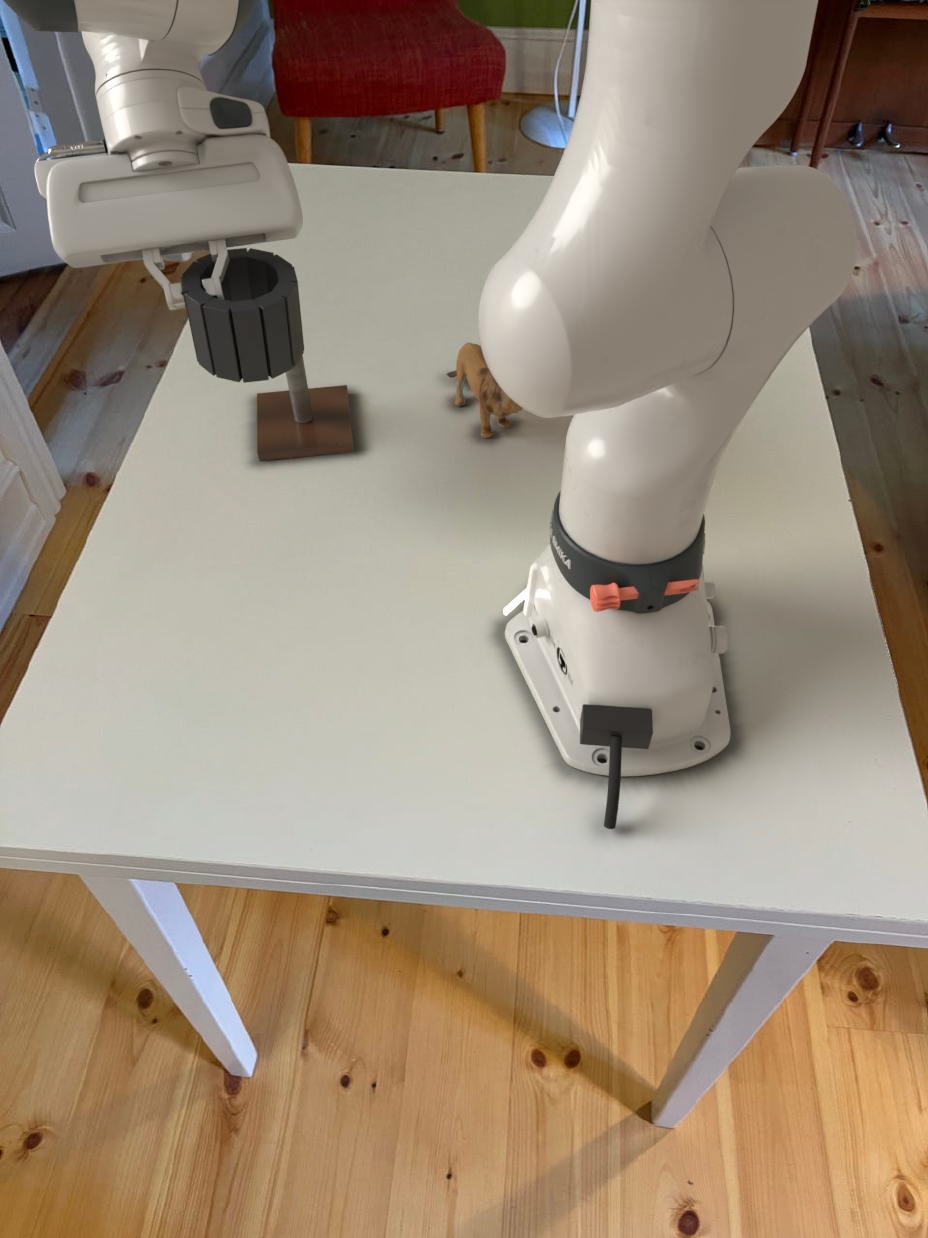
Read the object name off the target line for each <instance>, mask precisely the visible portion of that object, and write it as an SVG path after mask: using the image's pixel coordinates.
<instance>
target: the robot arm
mask: <svg viewBox="0 0 928 1238" xmlns="http://www.w3.org/2000/svg"><path fill="white" fill-rule="evenodd" d="M2 1H3V2H4V3H5V4H6V5H7V6H8V7H9V9H11V10H12V12H14V13H15V14H16V15H17V16H18V17H19V18H20V19H21V20H22V21H23V22H24V23H26V24H27V25H28V26H29V27H31V28H32V29H33V30H34V31H36V32H51V33H52V32H54V33H75V34H76V33H77V34H78V33H79V32H80V33H81V36H82V41H83V44H84V47H85V49H86V52H87V53H88V55H89V57H90V59H91V61H92V64H93V68H94V72H95V81H94V82H95V83H94V93H95V100H96V105H97V109H98V113H99V119H100V122H101V127H102V131H103V135H104V138H103V139H95V140H88V141H82V142H78V143H75V144H65V143H64V144H56V145H55V144H54V145H51V146H49V147H48V148H47V149H48V151H46V152H44V153H42V154H41V155H40V156H38V157H37V159H36V161H35V163H34V168H33V174H34V178H35V182H36V186H37V190H38V193H39V195H40V197H41V198H42V200H43V201H45V202H46V210H47V220H48V227H49V234H50V239H51V245H52V247H53V250H54V252H55V253H56V255H57V256H58V258H59V259H61V260H62V261H63V262H64V263H66V264H67V265H68V266H70V267H71V268H73V269H80V268H81V269H82V268H88V267H94V266H102V265H110V264H116V263H124V262H131V261H133V262H134V261H139V260H143V265H144V267H145V269H146V270H147V272H148V273H149V274H150V275H151V277H152V278H153V279H154V280H155V282H156V283H158V284H159V286H160V287H161V288H162V289H163V292H164V296H165V301H166V304H167V308H168V309H169V310H170V311H176V310H182V309H183V310H184V309H186V304H185V299H184V295H183V289H182V281H180V282H171V281H170V280H169V278H167V276H165V274H164V273H163V272H162V271H161V270H165V268H166V267H165V262H164V259H163V257H169V256H175V255H182V254H191V253H197V252H198V253H199V252H205V251H209V253H210V254H211V256H212V259H213V261H214V262H216V264H215V267H214V270H213V274H212V277H211V278H207V279H202V283H203V288H204V290H205V291H206V292H207V293H208V294H210V295H211V296H212V297H214V298H218V299H223V300H224V295H223V290H222V285H221V282H222V281H223V278H224V275H225V272H226V269H227V266H228V264H229V261H230V260H229V255H228V251H227V250H228V248H235V247H242V246H248V245H249V246H250V245H257V244H263V243H272V242H277V241H285V240H294V239H296V238H297V237H298V236H299V234H300V232H301V230H302V228H303V226H304V215H303V210H302V209H303V208H302V206H301V201H300V197H299V193H298V190H297V189H298V188H297V185H296V183H295V179H294V177H293V174H292V171H291V168H290V165H289V162H288V160H287V157H286V155H285V153H284V151H283V150H282V148H281V146H280V145H279V144H278V142H276V141H275V140H274V139H272V138H271V129H270V123H269V119H268V116H267V112H266V111H265V107H264V106H263V105H262V104H261V103H260V102H258V101H255V100H251V99H247V98H242V97H241V98H240V97H236V96H232V95H231V96H230V95H226V94H221V93H218V92H214V91H209V90H208V88H207V86H206V82H205V81H204V79H203V76H202V72H201V63H202V60H203V58H205V57H206V56H214V55H215V54H217V53H218V52H220V50H221V49H223V48H224V47H226V46H227V44H229V42H230V41H232V40H233V38H234V37H235V36H236V35H237V34H238V33H240V31H241V30H242V29H243V28H244V26H245V25H246V24H247V23H248V21H249V20H250V18H251V16H252V14H253V12H254V8H255V3H256V0H2ZM818 5H819V0H590V11H589V23H588V25H589V26H588V38H587V48H586V49H587V50H586V59H585V69H584V75H583V80H582V87H581V92H580V97H579V101H578V105H577V109H576V113H575V117H574V119H573V124H572V126H571V129H570V132H569V135H568V138H567V142H566V144H565V147H564V150H563V153H562V155H561V158H560V161H559V163H558V164H557V165H558V166H557V167H556V170H555V172H554V175H553V177H552V179H551V182H550V183H549V185H548V187H547V190H546V192H545V194H544V196H543V198H542V200H541V202H540V203H539V205H538V207H537V209H536V211H535V213H534V214H533V216H532V217H531V219H530V221H528V224H527V225H526V227H525V228H524V230H523V231H522V232H521V234H520V235H519V237H518V238H517V239H516V240H515V242H514V243H513V244H512V245H511V247H510V248H509V249H508V250H507V251H506V252H505V253H504V254H503V256H501V258H500V259H499V260H498V261H497V262H496V263H494V265H493V266H492V268H491V269H490V271H489V273H488V275H487V277H486V280H485V283H484V285H483V288H482V292H481V297H480V300H479V306H478V315H477V317H478V318H477V323H478V324H477V328H478V337H479V344H480V346H481V349H482V352H483V356H484V359H485V361H486V364H487V366H488V368H489V370H490V372H491V374H492V376H493V377H494V379H495V380H496V382H497V383H498V385H499V386H500V388H501V389H502V390H503V391H504V392H505V393H506V394H507V395H508V396H509V397H510V398H511V399H512V400H513V401H514V402H515V403H517V404H518V405H519V406H521V407H522V408H523V409H522V410H525V411H526V412H528V413H530V414H532V415H533V416H536V417H539V418H542V419H553V418H561V417H567V416H568V417H569V416H572V419H571V420H570V423H569V426H568V428H567V431H566V437H565V444H564V454H563V464H562V473H561V482H560V483H561V484H560V490H559V492H558V493H557V494H556V498H555V500H554V505H553V508H552V510H551V515H550V520H549V521H550V522H549V543H548V545H547V546H546V547H545V548H544V550H543V551H542V552H541V554H540V555H539V556H538V557H537V558H536V559H535V560H534V562H533V564H532V565H530V567H529V572H528V573H529V574H528V578H527V584H526V588H525V589H524V590H523V591H521V593H519V594H518V595H517V596H516V597H515V598H514V599H513V600H512V601H510V603H508V605H506V606H505V607H504V608H503V615H504V616H508V614H510V613H511V612H512V611H513V610H514V609H515V608H516V607H517V606H518V605H519V604H520V603H522V602H523V601H524V603H523V610H521V611H520V612H518V613H517V614H516V615H515V616H514V617H512V618H511V619H510V620H509V621H508V622H507V623H506V626H505V631H504V638H505V641H506V643H507V645H508V647H509V649H510V651H511V654H512V656H513V658H514V659H515V662H516V664H517V666H518V668H519V670H520V673H521V674H522V676H523V678H524V680H525V682H526V685H527V686H528V689H529V691H530V693H531V695H532V698H533V699H534V701H535V703H536V705H537V707H538V710H539V712H540V713H541V716H542V718H543V720H544V722H545V725H546V727H547V728H548V730H549V732H550V735H551V736H552V739H553V741H554V743H555V746H556V747H557V749H558V751H559V753H560V755H561V757H562V759H563V760H564V762H565V763H566V764H567V765H568V766H569V767H572V768H574V769H577V770H579V771H583V772H585V773H589V774H594V775H600V776H607V777H608V780H607V795H606V805H605V814H604V821H603V827H605V829H607V830H614V829H616V827H617V819H618V812H619V803H620V793H621V780H622V779H621V778H622V777H642V776H651V775H660V774H665V773H671V772H675V771H680V770H684V769H688V768H692V767H694V766H697V765H699V764H701V763H704V762H706V761H708V760H711V759H712V758H713V757H715V756H717V755H718V754H720V753H721V752H722V751H723V750H724V749H725V748H727V746H728V745H729V744H730V740H731V725H730V718H729V710H728V705H727V698H726V692H725V684H724V678H723V672H722V664H721V658H720V655H724V654H726V652H727V650H728V646H729V633H728V629H727V627H726V626H724V625H715V620H714V619H715V618H714V613H713V607H712V605H711V603H710V602H709V601H708V600H710V599H714V598H715V594H716V586H715V583H714V582H713V581H711V582H710V581H706V580H705V571H704V565H703V564H704V563H703V562H704V555H705V549H706V533H705V532H706V530H705V529H706V516H705V511H706V508H707V504H708V502H709V498H710V495H711V491H712V488H713V485H714V482H715V479H716V476H717V473H718V469H719V465H720V463H721V461H722V459H723V456H724V453H725V452H726V449H727V447H728V445H729V443H730V441H731V439H732V438H733V436H734V434H735V433H736V431H737V429H738V428H739V426H740V424H741V423H742V421H743V419H744V418H745V417H746V415H747V413H748V411H749V410H750V409H751V407H752V406H753V404H754V403H755V401H756V399H757V397H758V396H759V395H760V393H761V391H762V390H763V389H764V387H765V385H766V384H767V382H768V381H769V379H771V376H772V375H773V373H774V372H775V371H776V369H777V368H778V366H779V365H780V363H782V360H783V359H784V357H785V356H786V355H787V353H788V352H789V351H790V349H792V347H793V346H794V344H795V343H796V342H797V341H798V340H799V338H801V336H802V335H803V334H804V333H805V332H806V331H807V330H808V328H810V326H811V325H812V324H813V323H815V321H816V320H818V318H820V316H821V315H822V314H823V313H824V312H826V311H827V310H828V309H829V308H830V307H831V306H832V305H833V304H834V303H836V301H837V300H839V298H840V297H841V296H842V294H843V293H844V291H845V290H846V288H847V286H848V284H849V283H850V280H851V278H852V276H853V274H854V273H853V272H854V270H855V265H856V259H857V251H858V237H857V235H858V234H857V227H856V222H855V217H854V215H853V212H852V211H853V210H852V207H850V204H849V202H848V199H847V198H846V196H845V194H844V193H843V191H842V190H841V188H840V187H839V186H838V184H837V183H836V182H835V181H834V180H833V179H832V178H831V177H829V175H827V174H826V173H824V172H822V171H821V170H819V169H818V168H815V167H811V166H808V165H803V164H782V165H781V164H780V165H779V164H775V165H773V164H772V165H756V166H744V167H740V165H741V164H742V162H743V161H744V160H745V158H746V156H747V155H748V153H749V152H750V150H751V149H752V148H753V146H754V145H755V143H756V142H757V141H758V140H759V139H760V138H761V137H762V136H763V134H764V133H765V132H766V131H767V130H768V129H769V128H770V127H771V126H772V125H773V124H774V123H775V122H776V121H777V120H778V118H779V117H780V116H781V115H782V114H783V112H784V111H785V110H786V108H787V106H788V105H789V103H790V102H791V100H792V99H793V97H794V96H795V94H796V92H797V90H798V88H799V86H800V84H801V81H802V79H803V76H804V73H805V70H806V68H807V61H808V57H809V51H810V46H811V40H812V35H813V30H814V25H815V20H816V15H817V10H818V9H817V8H818ZM49 158H50V159H49ZM522 641H523V642H522ZM524 641H525V642H524ZM697 747H700V748H702V749H697ZM599 759H603V760H604V761H606V762H600V761H599Z"/></svg>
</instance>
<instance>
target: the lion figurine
mask: <svg viewBox="0 0 928 1238" xmlns="http://www.w3.org/2000/svg"><path fill="white" fill-rule="evenodd" d="M455 367H456V369H455V370H453V371H449V372H447V373H446V376H447V377H448V378H450V379H453V378H456V379H457V383H456V394H455V399H454V405H455V406H456V407H462V406H465V404H466V400H465V396H464V386H465V385H464V383H465V381H466V379H467V383H468V385H469V387H470V390H471V392H472V394H473V395H474V396H475V397H476V399H478V406H479V415H480V426H481V430H480V436H481V437H482V438H483V439H489V438H491V437H492V436H493V432H492V430H493V429H492V425H491V421H490V420H491V415H493V416H495V417H496V418H497V419H496V421H497V422H496V423H497V424H498V425H499V426H500V427H501V428H502V429H507V428H510V426H511V424H512V423H511V422H512V421H511V420H510V419H507V417H508V416H511V415H512V414H518V413H520V412H522V411H523V410H524V409H523V408H522V407H521V406H519V405H518V404H517V403H515V402H514V401H513V400H512V399H511V398H510V397H509V396H508V395H507V394H506V393H505V392H504V391H503V390H502V389H501V388H500V386H499V385H498V383H497V382H496V380H495V379H494V377H493V376H492V374H491V372H490V370H489V368H488V366H487V364H486V361H485V359H484V356H483V352H482V349H481V345H479V344H478V343H472V342H469V341H468V342H466V343H465V344H464V345H463V346H462V347H461V348H460V349H459V351H458V354H457V358H456V366H455Z"/></svg>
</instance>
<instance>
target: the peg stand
mask: <svg viewBox="0 0 928 1238" xmlns="http://www.w3.org/2000/svg"><path fill="white" fill-rule="evenodd" d="M285 376H286V382H287V386H288V387H287V388H288V390H279V391H268V392H257V393H256V454H257V457H258V461H259V462H264V461H272V460H274V461H275V460H283V459H294V458H304V457H305V458H306V457H313V456H324V455H334V454H343V453H344V454H345V453H354V452H355V448H354V437H353V429H352V428H353V427H352V418H351V409H350V400H349V399H350V398H349V390H348V385H347V384H343V385H341V384H340V385H333V386H331V385H330V386H322V387H321V386H320V387H311V388H309V385H308V379H307V373H306V367H305V362H304V354H303V355H302V356H301V358H300V359H299V361H298V363H297V364H296V366H295V367H293V366H292V369H291V370H289V371H287V372H285Z"/></svg>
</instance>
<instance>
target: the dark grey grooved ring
mask: <svg viewBox="0 0 928 1238" xmlns="http://www.w3.org/2000/svg"><path fill="white" fill-rule="evenodd" d="M227 251H228V255H229V260H230V261H229V264H228V266H227V269H226V272H225V275H224V278H223V281H222V282H221V285H222V290H223V295H224V300H223V299H218V298H214V297H212V296H211V295H210V294H208V293H207V292H206V291H205V290H204V288H203V283H202V279H207V278H211V277H212V274H213V270H214V267H215V264H216V262H214V261H213V259H212V256H211V253H209V254H206V255H204V256H201V257H199V258H196V259H195V261H193V262H192V263H191V264H190V265H189V266H188V267H187V268H186V269H185V271H183V273H182V276H180V279H181V284H182V289H183V295H184V299H185V304H186V308H185V310H186V313H187V319H188V324H189V327H190V333H191V337H192V342H193V346H194V347H193V348H194V352H195V357H196V362H197V363H198V365H199V366H200V367H201V368H203V369H204V370H205V371H206V372H208V373H209V374H210V375H212V376H213V377H214V376H215V377H216V378H218V379H223V380H227V381H231V382H236V383H241V381H242V383H243V384H246V383H254V382H263V381H269V380H270V379H276V378H277V377H279V376H281V375H283V374H286V372H287V371H289V370H291V369H292V366H293V367H295V366H296V364H297V363H298V361H299V359H300V358H301V356H302V355H303V356H304V352H305V341H304V332H303V322H302V311H301V301H300V291H299V280H298V278H297V273H296V270H295V266H293V264H292V263H290V262H289V261H288V260H286V259H285V258H284V257H282V256H280V255H279V254H275V253H274V252H272V251H267V250H262V249H258V248H257V249H256V248H252V247H251V248H249V249H248V248H247V247H241V248H230V249H228V248H227Z"/></svg>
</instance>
